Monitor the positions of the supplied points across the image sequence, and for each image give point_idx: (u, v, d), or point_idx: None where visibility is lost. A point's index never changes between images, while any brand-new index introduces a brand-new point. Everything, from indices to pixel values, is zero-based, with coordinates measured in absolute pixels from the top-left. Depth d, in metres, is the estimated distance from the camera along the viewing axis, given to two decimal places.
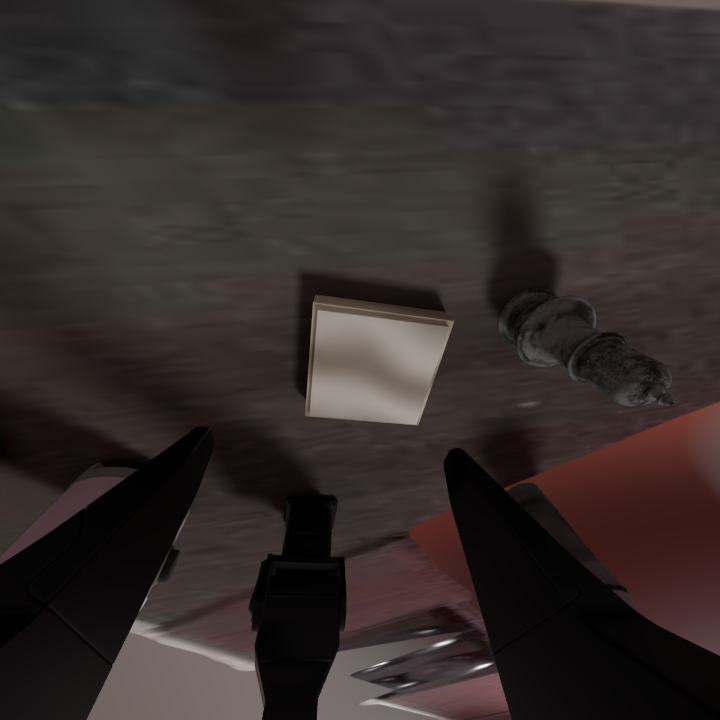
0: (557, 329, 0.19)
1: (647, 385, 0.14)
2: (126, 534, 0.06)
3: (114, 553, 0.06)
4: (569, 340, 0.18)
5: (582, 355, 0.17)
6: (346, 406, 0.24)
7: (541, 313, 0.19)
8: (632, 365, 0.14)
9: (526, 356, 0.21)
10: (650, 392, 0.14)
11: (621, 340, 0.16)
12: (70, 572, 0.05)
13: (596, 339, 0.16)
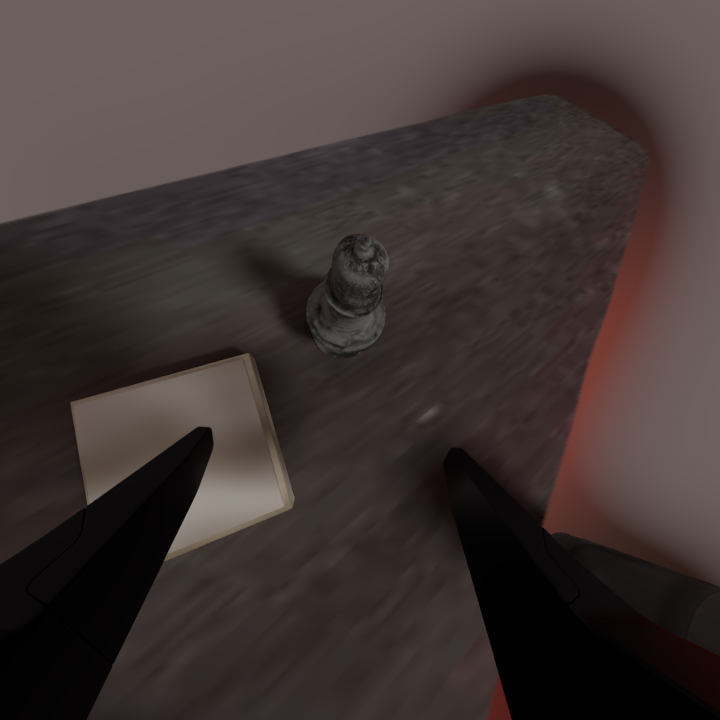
0: (326, 299, 0.18)
1: (349, 248, 0.12)
2: (126, 534, 0.06)
3: (114, 553, 0.06)
4: None
5: (330, 288, 0.15)
6: None
7: (313, 301, 0.19)
8: None
9: (336, 344, 0.19)
10: (356, 250, 0.12)
11: None
12: (70, 572, 0.05)
13: (331, 271, 0.16)
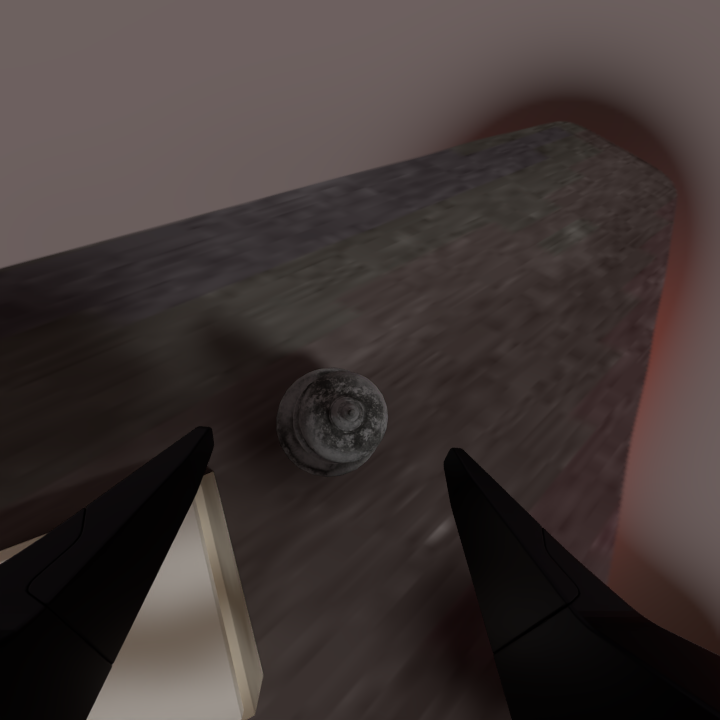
0: None
1: (323, 409, 0.08)
2: (126, 534, 0.06)
3: (114, 553, 0.06)
4: None
5: None
6: None
7: (286, 407, 0.14)
8: (303, 396, 0.08)
9: (317, 468, 0.14)
10: (333, 416, 0.07)
11: None
12: (70, 572, 0.05)
13: (304, 395, 0.11)
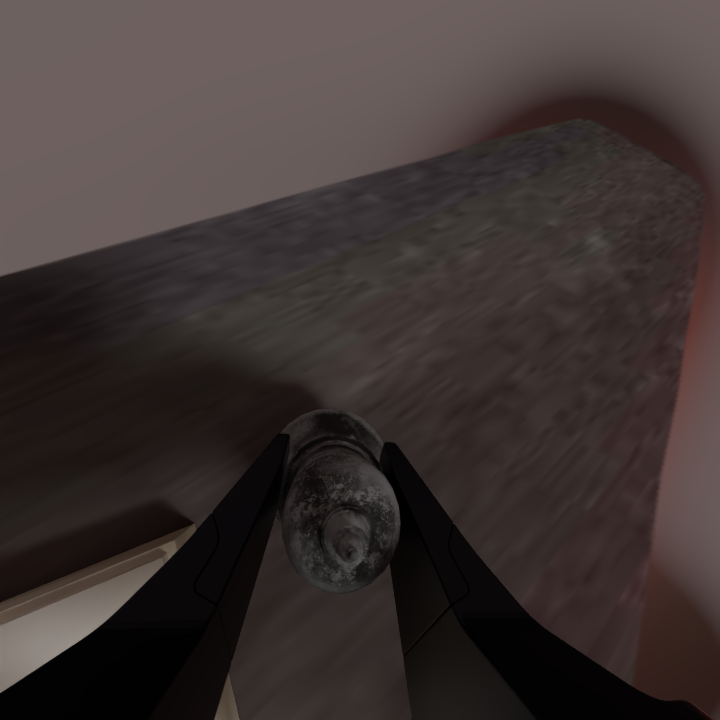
0: None
1: (313, 527, 0.05)
2: (251, 538, 0.06)
3: (245, 556, 0.06)
4: None
5: None
6: None
7: None
8: (288, 493, 0.06)
9: None
10: (327, 542, 0.05)
11: (337, 442, 0.09)
12: (224, 574, 0.05)
13: (294, 464, 0.09)
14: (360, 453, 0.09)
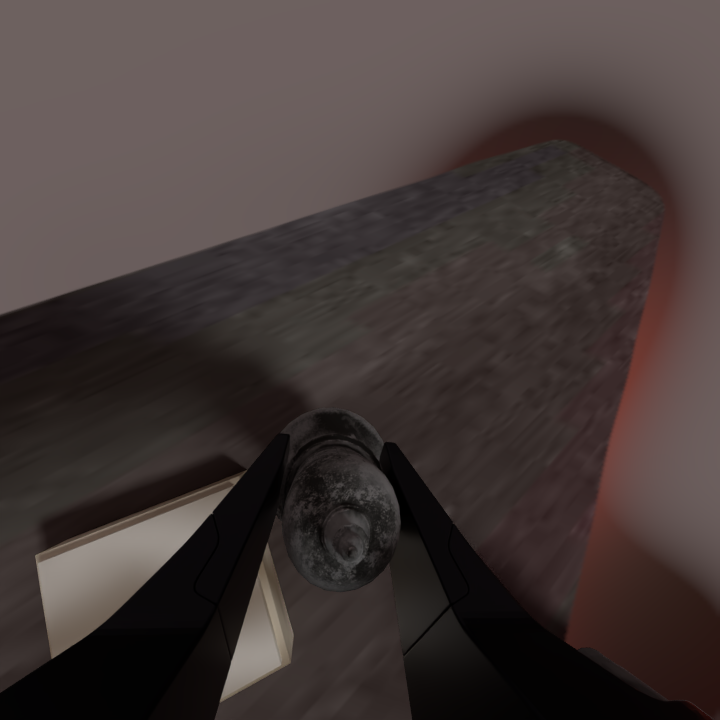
0: None
1: (314, 526, 0.05)
2: (251, 538, 0.06)
3: (245, 556, 0.06)
4: None
5: None
6: None
7: None
8: (289, 492, 0.06)
9: None
10: (327, 540, 0.05)
11: (338, 441, 0.09)
12: (224, 574, 0.05)
13: (294, 463, 0.09)
14: (360, 452, 0.09)
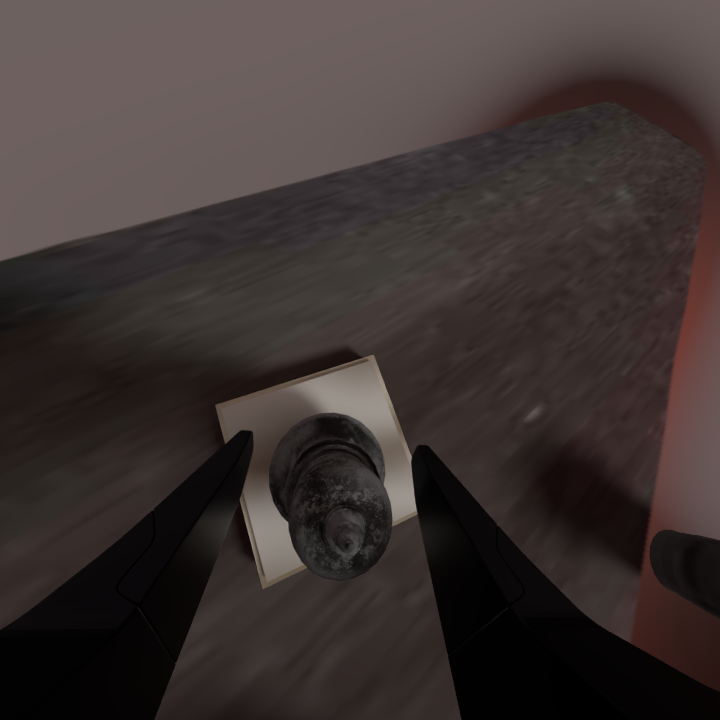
0: None
1: (316, 523, 0.06)
2: (193, 536, 0.06)
3: (184, 555, 0.06)
4: None
5: None
6: None
7: (280, 458, 0.13)
8: (294, 493, 0.07)
9: None
10: (328, 536, 0.06)
11: (337, 446, 0.10)
12: (153, 573, 0.05)
13: (297, 466, 0.10)
14: (358, 456, 0.10)
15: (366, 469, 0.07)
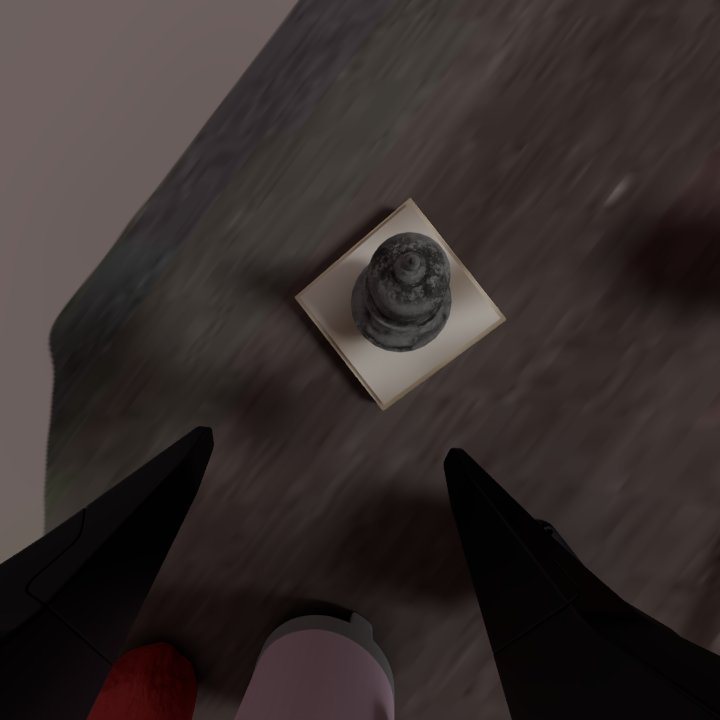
0: None
1: (388, 273, 0.08)
2: (126, 534, 0.06)
3: (114, 553, 0.06)
4: None
5: (375, 306, 0.12)
6: (406, 363, 0.19)
7: (357, 305, 0.16)
8: (368, 272, 0.09)
9: (401, 346, 0.16)
10: (398, 275, 0.08)
11: None
12: (70, 572, 0.05)
13: None
14: None
15: (416, 233, 0.09)
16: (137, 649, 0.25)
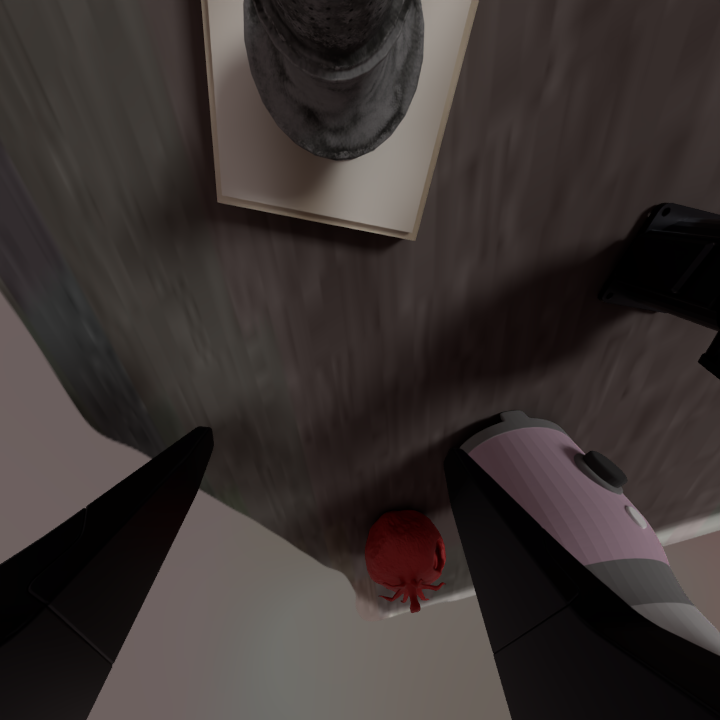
0: (302, 84, 0.08)
1: None
2: (126, 534, 0.06)
3: (114, 553, 0.06)
4: None
5: (312, 51, 0.06)
6: (401, 156, 0.13)
7: (287, 118, 0.10)
8: None
9: (386, 123, 0.10)
10: None
11: None
12: (70, 572, 0.05)
13: (265, 10, 0.06)
14: None
15: None
16: (373, 526, 0.34)
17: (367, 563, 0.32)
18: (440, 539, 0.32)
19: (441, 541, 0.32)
